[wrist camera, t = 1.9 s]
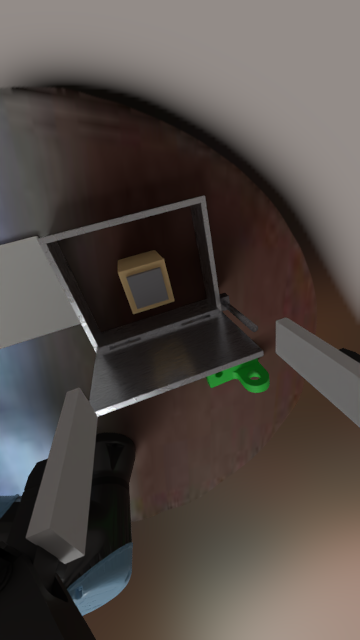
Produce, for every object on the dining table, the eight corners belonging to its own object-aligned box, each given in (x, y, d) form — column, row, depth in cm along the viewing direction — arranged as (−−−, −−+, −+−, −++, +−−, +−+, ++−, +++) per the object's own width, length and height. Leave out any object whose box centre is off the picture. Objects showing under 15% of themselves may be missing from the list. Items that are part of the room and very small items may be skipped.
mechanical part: (251, 343, 49) (273, 364, 42) (254, 362, 51) (275, 386, 44) (202, 363, 47) (216, 388, 40) (207, 382, 50) (222, 409, 43)
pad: (-5, 349, 35) (-7, 351, 34) (-73, 264, 28) (-77, 265, 27) (82, 321, 36) (81, 323, 36) (37, 235, 30) (36, 235, 29)
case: (100, 341, 39) (90, 420, 24) (48, 235, 30) (-19, 257, 15) (219, 303, 42) (275, 352, 27) (203, 195, 33) (273, 180, 18)
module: (130, 295, 37) (133, 316, 29) (117, 260, 34) (117, 273, 26) (164, 284, 37) (175, 302, 30) (154, 249, 34) (164, 259, 27)
